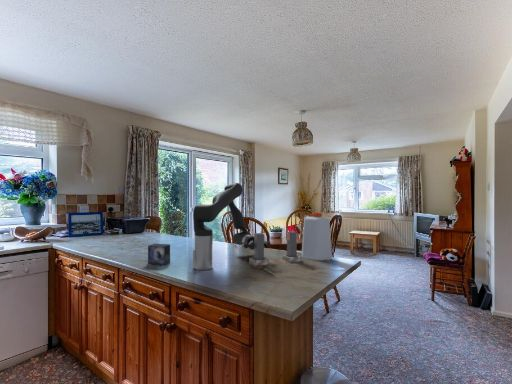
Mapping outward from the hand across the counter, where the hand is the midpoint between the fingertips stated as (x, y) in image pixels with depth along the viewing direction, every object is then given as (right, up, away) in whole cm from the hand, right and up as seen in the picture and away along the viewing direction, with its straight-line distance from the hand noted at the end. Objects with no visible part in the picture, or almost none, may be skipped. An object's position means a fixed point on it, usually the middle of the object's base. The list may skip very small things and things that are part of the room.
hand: (260, 246), depth 149 cm
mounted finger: (+18, -9, +9) cm, 22 cm away
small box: (-57, -11, +6) cm, 58 cm away
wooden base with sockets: (+9, -11, +5) cm, 15 cm away
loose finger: (-1, -9, +2) cm, 9 cm away
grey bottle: (+34, -11, +18) cm, 40 cm away
